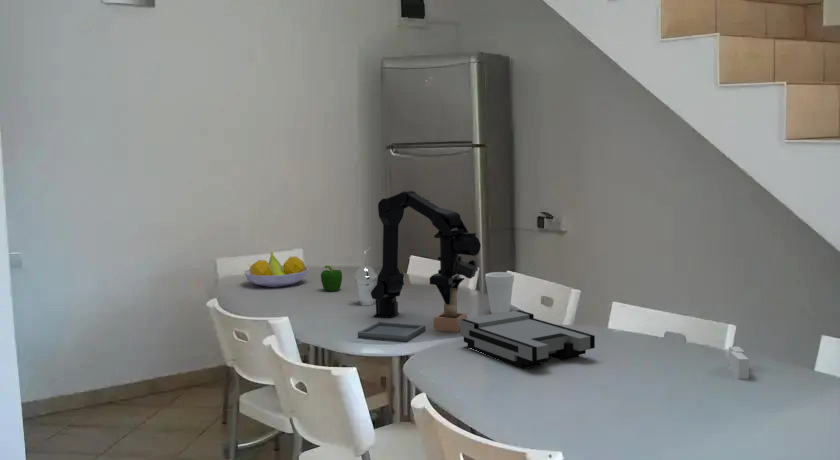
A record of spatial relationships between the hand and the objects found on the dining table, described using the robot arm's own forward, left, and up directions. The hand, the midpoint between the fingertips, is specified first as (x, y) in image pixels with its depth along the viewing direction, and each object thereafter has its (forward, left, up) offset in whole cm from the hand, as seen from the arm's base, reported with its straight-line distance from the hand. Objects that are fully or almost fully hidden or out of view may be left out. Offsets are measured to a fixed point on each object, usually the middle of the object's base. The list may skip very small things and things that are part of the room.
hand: (450, 302), depth 250 cm
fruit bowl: (-97, +51, -8) cm, 110 cm away
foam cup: (+8, +25, -8) cm, 27 cm away
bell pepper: (-67, +44, -8) cm, 81 cm away
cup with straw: (-42, +25, -8) cm, 50 cm away
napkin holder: (+84, -20, -9) cm, 87 cm away
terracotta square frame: (0, 0, -8) cm, 8 cm away
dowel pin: (0, 0, -6) cm, 6 cm away
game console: (+30, -21, -8) cm, 37 cm away
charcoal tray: (-14, -13, -8) cm, 21 cm away
